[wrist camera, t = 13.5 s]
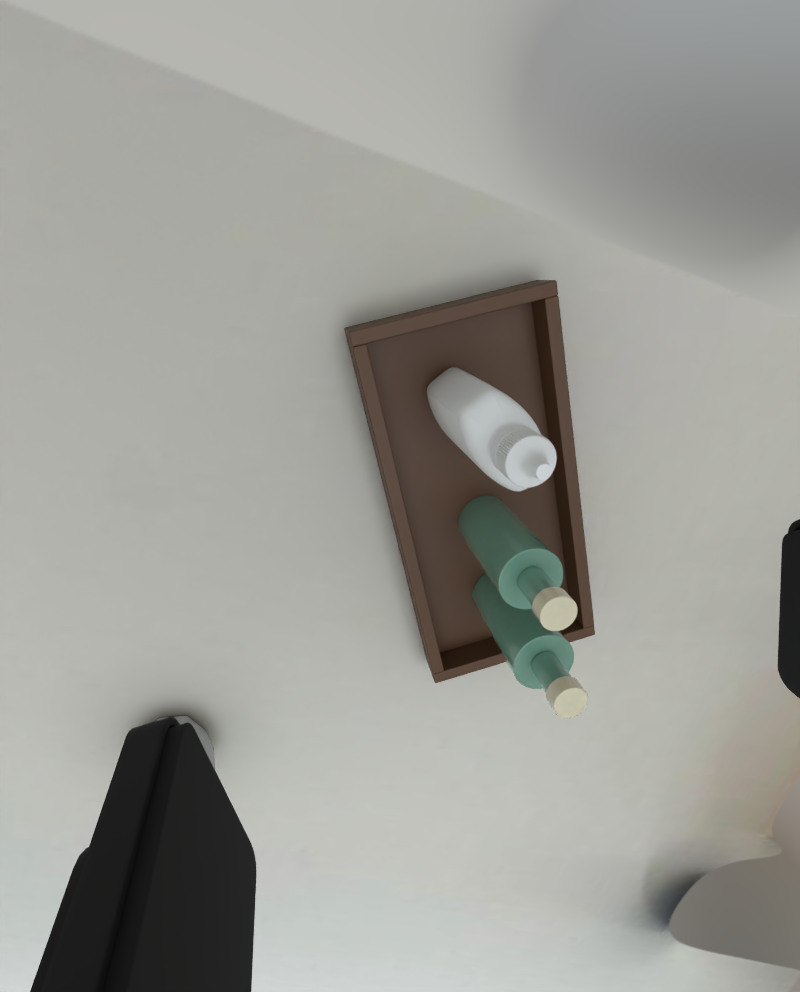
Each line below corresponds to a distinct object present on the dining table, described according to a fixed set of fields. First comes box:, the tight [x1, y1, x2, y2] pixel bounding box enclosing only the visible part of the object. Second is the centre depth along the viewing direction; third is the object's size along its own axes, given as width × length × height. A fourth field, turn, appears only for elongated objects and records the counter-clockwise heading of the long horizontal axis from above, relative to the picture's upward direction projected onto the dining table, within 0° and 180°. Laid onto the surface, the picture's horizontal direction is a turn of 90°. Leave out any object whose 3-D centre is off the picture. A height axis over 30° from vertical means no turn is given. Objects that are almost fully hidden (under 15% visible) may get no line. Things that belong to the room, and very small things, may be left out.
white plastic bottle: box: [427, 367, 557, 491], centre depth 30 cm, size 4×6×12 cm
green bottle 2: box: [472, 573, 588, 718], centre depth 35 cm, size 4×4×11 cm
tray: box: [344, 280, 595, 683], centre depth 37 cm, size 24×12×3 cm, turn 11°
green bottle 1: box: [458, 496, 578, 631], centre depth 33 cm, size 4×4×11 cm
